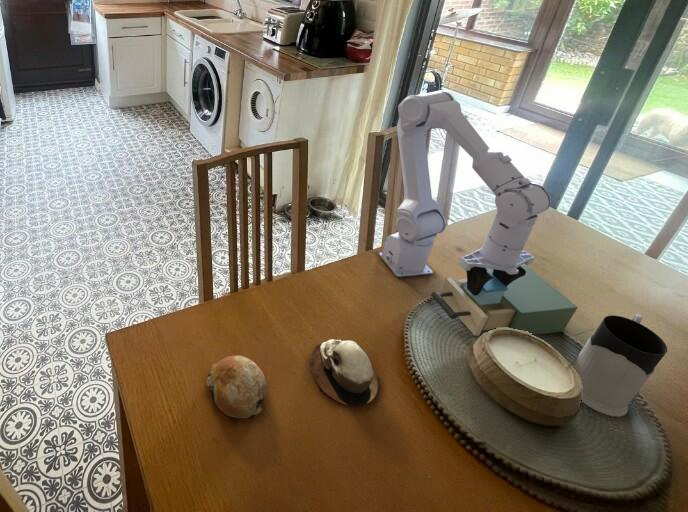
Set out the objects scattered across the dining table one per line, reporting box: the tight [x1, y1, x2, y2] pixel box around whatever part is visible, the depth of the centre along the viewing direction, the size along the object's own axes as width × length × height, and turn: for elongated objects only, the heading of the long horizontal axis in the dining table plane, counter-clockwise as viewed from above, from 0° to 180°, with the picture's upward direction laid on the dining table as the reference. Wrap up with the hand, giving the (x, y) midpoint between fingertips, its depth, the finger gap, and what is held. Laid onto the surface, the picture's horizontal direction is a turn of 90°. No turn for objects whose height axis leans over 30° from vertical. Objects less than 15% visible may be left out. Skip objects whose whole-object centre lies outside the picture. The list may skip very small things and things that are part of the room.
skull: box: [309, 338, 379, 407], centre depth 76 cm, size 12×10×10 cm
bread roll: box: [206, 355, 268, 419], centre depth 73 cm, size 10×10×8 cm
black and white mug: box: [571, 313, 668, 417], centre depth 72 cm, size 9×14×15 cm, turn 126°
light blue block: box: [464, 271, 508, 305], centre depth 85 cm, size 5×5×4 cm
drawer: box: [431, 277, 517, 336], centre depth 87 cm, size 16×10×5 cm, turn 97°
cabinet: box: [486, 264, 579, 336], centre depth 88 cm, size 13×12×7 cm
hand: (482, 290), depth 85 cm, fingers closed on light blue block, 5 cm apart
